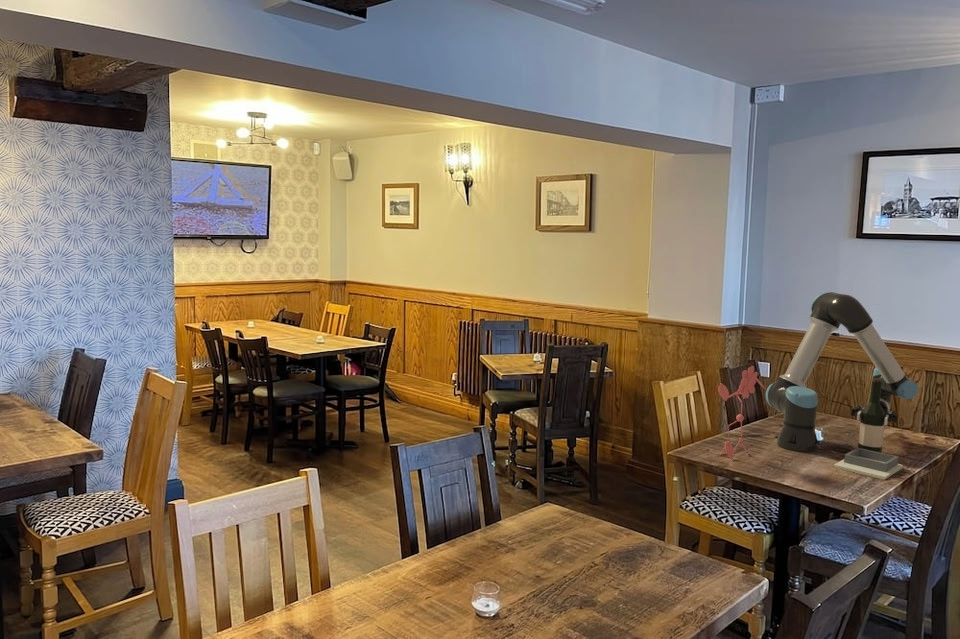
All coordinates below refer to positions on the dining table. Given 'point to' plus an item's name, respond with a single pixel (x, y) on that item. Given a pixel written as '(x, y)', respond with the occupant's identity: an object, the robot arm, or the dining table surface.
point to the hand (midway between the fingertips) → (871, 419)
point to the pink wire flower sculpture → (747, 388)
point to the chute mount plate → (870, 463)
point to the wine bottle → (872, 421)
